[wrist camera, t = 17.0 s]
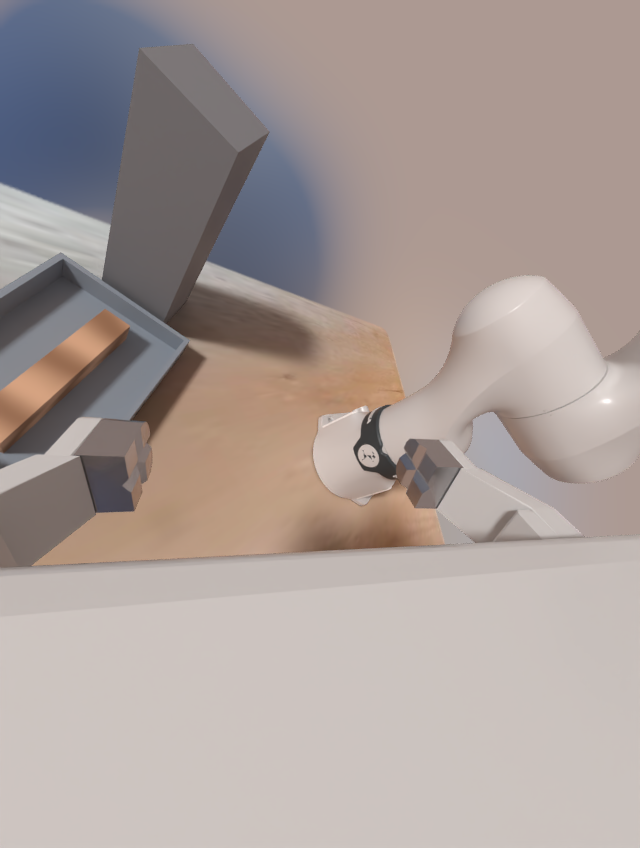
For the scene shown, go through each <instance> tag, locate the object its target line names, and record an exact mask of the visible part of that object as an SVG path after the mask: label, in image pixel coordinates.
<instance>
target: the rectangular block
mask: <svg viewBox="0 0 640 848" xmlns="http://www.w3.org/2000/svg"><path fill="white" fill-rule="evenodd" d="M129 329H130V325H128V324H127V323H125V322H124V321H122V320H121V319H120V318H118V317H117V316H115V315H114V314H112V313H111V312H109V311H108V310H106V309H104V310H103V311H102V312H100V313H99V314H98V315H96V316H95V317H94V318H93V319H91V320H90V321H89V322H88V323H86V324H85V325H84V326H82V327H81V328H80V329H79V330H77V331H76V332H75V333H74V334H72V335H71V336H70V337H68V338H67V339H66V340H65V341H63V342H62V343H61V344H60V345H58V346H57V347H56V348H54V349H53V350H52V351H51V352H49V353H48V354H47V355H46V356H44V357H43V358H42V359H40V360H39V361H38V362H37V363H35V364H34V365H33V366H31V367H30V368H29V369H28V370H26V371H25V372H24V373H23V374H21V375H20V376H19V377H17V378H16V379H15V380H14V381H12V382H11V383H10V384H9V385H7V386H6V387H5V388H3V389H2V390H1V391H0V452H1V453H3V454H4V453H5V452H6V451H7V450H8V449H9V448H10V447H11V446H12V445H13V444H14V443H15V442H17V441H18V440H19V439H20V438H21V437H22V436H23V435H24V434H25V433H26V432H27V431H28V430H29V429H30V428H32V427H33V426H34V425H35V424H36V423H37V422H38V421H39V420H40V419H41V418H42V417H43V416H44V415H45V414H47V413H48V412H49V411H50V410H51V409H52V408H53V407H54V406H55V405H56V404H57V403H58V402H59V401H60V400H62V399H63V398H64V397H65V396H66V395H67V394H68V393H69V392H70V391H71V390H72V389H73V388H74V387H75V386H77V385H78V384H79V383H80V382H81V381H82V380H83V379H84V378H85V377H86V376H87V375H88V374H89V373H90V372H92V371H93V370H94V369H95V368H96V367H97V366H98V365H99V364H100V363H101V362H102V361H103V360H104V359H105V358H107V357H108V356H109V355H110V354H111V353H112V352H113V351H114V350H115V349H116V348H117V347H118V346H119V345H120V344H122V343H123V342H124V341H125V340H126V338H127V335H128V332H129Z"/></svg>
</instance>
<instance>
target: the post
mask: <svg viewBox="0 0 640 848" xmlns="http://www.w3.org/2000/svg"><path fill="white" fill-rule="evenodd" d="M268 134H269V131H268V130H267V128H266V127H265V126H264V125H263V124H262V123H261V121H260V120H259V119H258V118H257V117H256V116H255V115H254V113H253V112H252V111H251V110H250V109H249V108H248V107H247V106H246V104H245V103H244V102H243V101H242V100H241V98H240V97H239V96H238V95H237V94H236V93H235V92H234V90H233V89H232V88H231V87H230V86H229V85H228V84H227V82H226V81H225V80H224V79H223V78H222V77H221V76H220V74H219V73H218V72H217V71H216V70H215V69H214V67H213V66H212V65H211V64H210V63H209V62H208V61H207V59H206V58H205V57H204V56H203V55H202V54H201V53H200V51H199V50H198V49H197V48H196V47H195V46H194V45H193V44H186V45H173V46H160V47H147V48H139V54H138V59H137V66H136V72H135V78H134V85H133V91H132V97H131V103H130V109H129V115H128V122H127V128H126V134H125V140H124V146H123V153H122V159H121V165H120V171H119V178H118V184H117V190H116V196H115V202H114V209H113V215H112V221H111V227H110V233H109V240H108V246H107V252H106V258H105V264H104V271H103V277H102V281H104V282H105V283H107V284H108V285H109V286H111V287H112V288H114V289H115V290H117V291H118V292H120V293H121V294H123V295H124V296H126V297H127V298H128V299H130V300H131V301H133V302H134V303H136V304H137V305H139V306H140V307H142V308H143V309H145V310H146V311H148V312H149V313H150V314H152V315H153V316H155V317H156V318H158V319H159V320H161V321H162V322H164V323H165V324H166V323H167V322H168V321H169V320H170V319H171V318H172V317H173V315H174V314H175V313H176V312H177V311H178V310H179V309H180V308H181V306H182V305H183V304H184V303H185V302H186V301H187V299H188V296H189V294H190V292H191V290H192V288H193V286H194V284H195V282H196V280H197V278H198V276H199V274H200V272H201V270H202V268H203V266H204V264H205V262H206V260H207V258H208V256H209V254H210V252H211V250H212V248H213V246H214V244H215V242H216V240H217V238H218V235H219V233H220V232H221V229H222V227H223V225H224V223H225V221H226V219H227V217H228V215H229V213H230V211H231V209H232V207H233V205H234V203H235V201H236V199H237V197H238V195H239V193H240V191H241V189H242V187H243V185H244V183H245V181H246V179H247V176H248V175H249V173H250V171H251V169H252V166H253V164H254V162H255V160H256V158H257V156H258V154H259V152H260V150H261V148H262V146H263V144H264V142H265V140H266V138H267V136H268Z"/></svg>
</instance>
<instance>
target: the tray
mask: <svg viewBox="0 0 640 848" xmlns="http://www.w3.org/2000/svg"><path fill="white" fill-rule="evenodd" d="M104 309H106V310H108V311H109V312H111V313H112V314H114V315H115V316H117V317H118V318H120V319H121V320H122V321H124V322H125V323H127V324H128V325H130V329H129V332H128V335H127V338H126V340H125V341H124V342H123V343H122V344H120V345H119V346H118V347H117V348H116V349H115V350H114V351H113V352H112V353H111V354H110V355H109V356H108V357H107V358H105V359H104V360H103V361H102V362H101V363H100V364H99V365H98V366H97V367H96V368H95V369H94V370H93V371H92V372H90V373H89V374H88V375H87V376H86V377H85V378H84V379H83V380H82V381H81V382H80V383H79V384H78V385H77V386H75V387H74V388H73V389H72V390H71V391H70V392H69V393H68V394H67V395H66V396H65V397H64V398H63V399H62V400H60V401H59V402H58V403H57V404H56V405H55V406H54V407H53V408H52V409H51V410H50V411H49V412H48V413H47V414H45V415H44V416H43V417H42V418H41V419H40V420H39V421H38V422H37V423H36V424H35V425H34V426H33V427H32V428H30V429H29V430H28V431H27V432H26V433H25V434H24V435H23V436H22V437H21V438H20V439H19V440H18V441H17V442H15V443H14V444H13V445H12V446H11V447H10V448H9V449H8V450H7V451H6V452H5V453H4V454H3V453H1V452H0V469H2V468H4V467H6V466H9V465H11V464H14V463H16V462H19V461H21V460H24V459H26V458H29V457H31V456H34V455H44V454H45V453H46V452H47V451H48V450H49V449H50V448H51V447H52V445H53V444H54V443H55V442H56V441H57V440H58V439H59V438H60V437H61V436H62V435H63V434H64V432H65V431H66V430H67V429H68V428H69V427H70V426H71V425H72V424H73V423H74V422H75V421H76V419H78V418H80V417H94V418H104V419H105V418H108V419H120V420H132V419H133V418H134V416H135V415H136V414H137V412H138V411H139V410H140V409H141V407H142V406H143V405H144V403H145V402H146V401H147V399H148V398H149V397H150V395H151V394H152V393H153V391H154V390H155V389H156V387H157V386H158V385H159V383H160V382H161V381H162V379H163V378H164V377H165V375H166V374H167V373H168V371H169V370H170V369H171V368H172V366H173V365H174V364H175V362H176V361H177V360H178V358H179V357H180V356H181V354H182V353H183V351H184V350H185V348H186V346H187V345H188V343H189V341H190V340H189V339H187V338H186V337H184V336H183V335H181V334H180V333H178V332H177V331H175V330H174V329H172V328H171V327H170V326H168V325H167V324H165V323H164V322H162V321H161V320H159V319H158V318H156V317H155V316H153V315H152V314H150V313H149V312H148V311H146V310H145V309H143V308H142V307H140V306H139V305H137V304H136V303H134V302H133V301H131V300H130V299H128V298H127V297H126V296H124V295H123V294H121V293H120V292H118V291H117V290H115V289H114V288H112V287H111V286H109V285H108V284H107V283H105V282H104V281H102V280H101V279H99V278H98V277H96V276H95V275H93V274H92V273H90V272H89V271H87V270H86V269H85V268H83V267H82V266H80V265H79V264H77V263H76V262H74V261H73V260H71V259H70V258H68V257H67V256H66V255H64V254H63V253H59V254H57V255H56V256H54V257H52V258H51V259H49V260H48V261H46V262H44V263H43V264H41V265H39V266H38V267H36V268H35V269H33V270H31V271H30V272H28V273H26V274H25V275H23V276H21V277H20V278H18V279H17V280H15V281H13V282H12V283H10V284H8V285H7V286H5V287H4V288H2V289H0V391H1V390H2V389H3V388H5V387H6V386H7V385H9V384H10V383H11V382H12V381H14V380H15V379H16V378H17V377H19V376H20V375H21V374H23V373H24V372H25V371H26V370H28V369H29V368H30V367H31V366H33V365H34V364H35V363H37V362H38V361H39V360H40V359H42V358H43V357H44V356H46V355H47V354H48V353H49V352H51V351H52V350H53V349H54V348H56V347H57V346H58V345H60V344H61V343H62V342H63V341H65V340H66V339H67V338H68V337H70V336H71V335H72V334H74V333H75V332H76V331H77V330H79V329H80V328H81V327H82V326H84V325H85V324H86V323H88V322H89V321H90V320H91V319H93V318H94V317H95V316H96V315H98V314H99V313H100V312H102V311H103V310H104Z"/></svg>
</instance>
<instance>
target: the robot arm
mask: <svg viewBox="0 0 640 848" xmlns="http://www.w3.org/2000/svg"><path fill="white" fill-rule="evenodd" d="M487 412H494V413H495V414H496V415H497V416H498V418H499V419H500V421H501V422H502V423H503V425H504V427H505V428H506V430H507V431H508V433H509V434H510V435H511V437H512V438H513V440H514V441H515V443H516V445H517V446H518V447H519V449H520V450H521V452H522V453H524V455H525V456H527V457H528V458H529V459H530V460H531V461H532V462H533V463H534V464H535V465H536V466H537V467H538V468H540V469H541V470H542V471H543V472H544V473H545V474H547V475H548V476H549V477H551V478H553V479H555V480H558V481H562V482H567V483H593V482H599V481H603V480H606V479H609V478H612V477H614V476H616V475H618V474H620V473H622V472H623V471H625V470H627V469H628V468H629V467H630V466H631V465H632V464H633V463H634V462H635V461H636V460H637V458H638V456H639V454H640V331H639V332H638V333H637V335H636V336H635V337H634V338H633V339H632V340H631V341H630V342H629V343H628V344H626V345H625V346H624V347H622V348H621V349H620V350H618V351H616V352H615V353H613V354H611V355H609V356H607V357H605V358H603V357H602V355H601V353H600V351H599V350H598V348H597V346H596V344H595V342H594V340H593V338H592V337H591V335H590V333H589V331H588V329H587V327H586V325H585V324H584V322H583V320H582V318H581V316H580V314H579V312H578V311H577V309H576V308H575V307H574V306H573V305H572V304H571V303H570V302H569V300H567V298H566V297H565V296H564V295H563V294H562V293H561V292H560V291H559V290H558V289H557V288H556V287H555V286H553V284H552V283H551V282H549V281H548V280H547V279H546V278H545V277H543V276H534V275H532V276H531V275H526V276H517V277H513V278H508V279H505V280H502V281H499V282H497V283H495V284H493V285H491V286H489V287H487V288H486V289H484V290H483V291H481V292H480V293H479V294H477V295H476V296H475V297H474V298H473V299H472V300H471V301H470V302H469V303H468V304H467V305H466V307H465V308H464V309H463V311H462V312H461V314H460V316H459V317H458V320H457V321H456V324H455V327H454V330H453V335H452V342H451V347H450V351H449V354H448V356H447V359H446V361H445V363H444V365H443V367H442V369H441V370H440V372H439V373H438V374H437V375H436V377H435V378H434V379H433V380H432V381H431V382H430V383H429V384H427V385H426V386H425V387H423V388H422V389H420V390H419V391H417V392H415V393H413V394H412V395H410V396H409V397H406V398H405V399H403V400H401V401H399V402H397V403H395V404H393V405H385V406H383V407H379V408H376V409H375V410H373V411H372V412H369V409H368V407H367V406H363V407H360V408H358V409H355V410H353V411H352V412H349V413H339V414H329V415H323V416H321V417H319V420H318V433H317V436H316V438H315V441H314V446H313V458H314V464H315V467H316V470H317V473H318V475H319V477H320V479H321V481H322V482H323V483H324V485H325V486H326V487H327V488H328V489H329V490H330V491H331V492H332V493H334V494H335V495H337V496H339V497H342V498H347V499H351V500H352V501H354V502H355V503H356V504H358V505H360V506H363V505H366V504H367V503H368V501H369V500H370V498H371V497H372V496H373V495H374V494H377V493H380V492H384V491H387V490H390V489H391V488H392V485H393V484H394V483H395V481H396V479H398V480H399V482H400V484H402V485H403V486H404V487H406V488H407V492H406V494H407V496H408V497H409V499H410V501H411V503H412V504H413V506H414V508H434V509H437V511H439V512H440V513H441V514H442V515H443V516H444V517H446V518H447V519H448V520H449V521H450V522H452V523H453V524H454V525H455V526H456V527H457V528H458V529H460V530H461V531H462V532H463V533H464V534H465V535H467V536H468V537H469V538H470V539H472V540H473V541H474V542H475V543H467V544H447V545H427V546H408V547H388V548H369V549H350V550H330V551H311V552H292V553H273V554H254V555H235V556H216V557H196V558H177V559H158V560H139V561H119V562H100V563H81V564H62V565H43V566H31V565H33V564H34V563H35V562H36V561H38V560H39V559H40V558H42V557H43V556H44V555H45V554H47V553H48V552H49V551H50V550H52V549H53V548H54V547H55V546H57V545H58V544H59V543H61V542H62V541H63V540H64V539H66V538H67V537H68V536H69V535H71V534H72V533H73V532H74V531H76V530H77V529H78V528H80V527H81V526H82V525H83V524H85V523H86V522H87V521H88V520H90V519H91V518H92V517H93V516H95V515H96V513H103V512H131V511H135V509H136V507H137V504H138V502H139V499H140V497H141V495H142V485H141V484H143V483H144V482H146V481H147V480H148V478H149V475H150V472H151V467H152V447H151V446H150V445H149V444H147V441H148V439H149V436H150V430H149V424H148V423H147V422H145V421H133V420H120V419H108V418H105V419H104V418H94V417H80V418H78V419H76V421H75V422H74V423H73V424H72V425H71V426H70V427H69V428H68V429H67V430H66V431H65V432H64V434H63V435H62V436H61V437H60V438H59V439H58V440H57V441H56V442H55V443H54V444H53V445H52V447H51V448H50V449H49V450H48V451H47V452H46V453H45V454H44V455H34V456H31V457H29V458H26V459H24V460H21V461H19V462H16V463H14V464H11V465H9V466H6V467H4V468H2V469H0V848H640V534H639V535H619V536H600V537H585V536H584V535H582V534H581V533H580V532H579V531H578V530H577V529H576V528H575V527H574V526H573V525H572V524H571V523H569V522H568V521H567V520H566V519H565V518H564V517H563V516H562V515H561V514H560V513H559V512H558V511H557V510H555V509H554V508H553V507H551V506H549V505H547V504H545V503H543V502H542V501H540V500H538V499H536V498H534V497H532V496H531V495H529V494H527V493H525V492H523V491H521V490H519V489H518V488H516V487H514V486H512V485H510V484H508V483H507V482H505V481H503V480H501V479H499V478H497V477H495V476H494V475H492V474H490V473H488V472H486V471H484V470H483V469H478V468H477V467H476V466H475V465H474V464H473V463H472V462H471V461H470V460H469V459H468V458H467V457H466V456H465V455H464V453H465V452H466V451H467V450H468V448H469V446H470V444H471V440H472V430H473V425H472V424H473V423H472V420H473V419H474V418H476V417H478V416H480V415H482V414H484V413H487Z"/></svg>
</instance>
